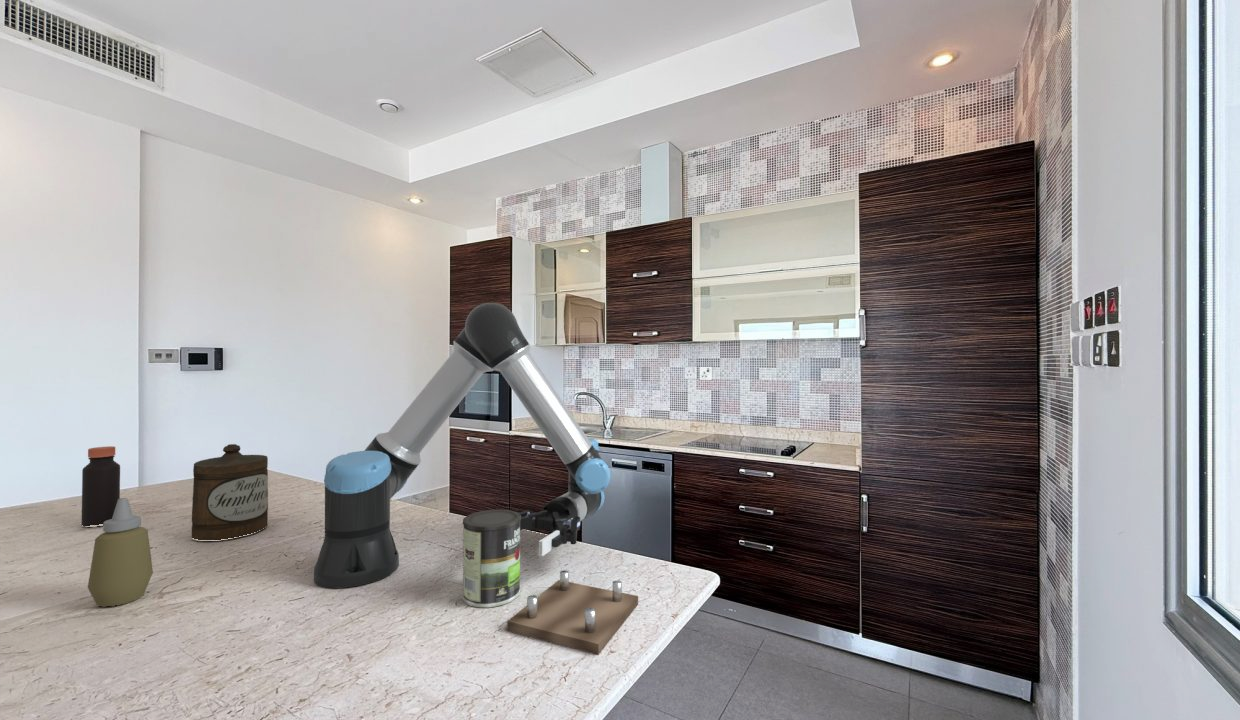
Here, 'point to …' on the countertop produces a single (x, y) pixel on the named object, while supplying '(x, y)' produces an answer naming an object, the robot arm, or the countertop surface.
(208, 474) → the wooden container
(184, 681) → the countertop surface
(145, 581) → the squeeze bottle
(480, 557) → the coffee can
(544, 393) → the robot arm
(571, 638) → the pin nest
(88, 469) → the vinegar
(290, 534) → the countertop surface
